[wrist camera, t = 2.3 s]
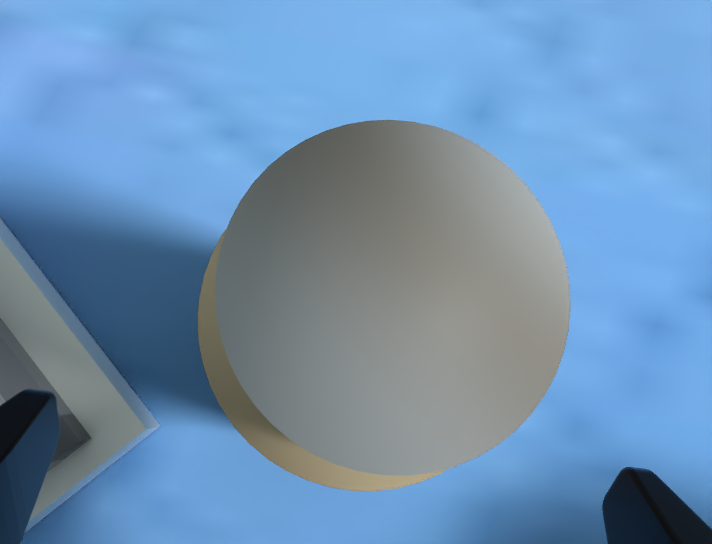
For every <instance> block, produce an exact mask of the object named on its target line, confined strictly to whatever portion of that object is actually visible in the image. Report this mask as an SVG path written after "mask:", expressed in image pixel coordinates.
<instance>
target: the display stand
mask: <svg viewBox="0 0 712 544" xmlns="http://www.w3.org/2000/svg"><path fill="white" fill-rule="evenodd" d="M25 389H35V390H43V391H50V392H52V393H54V395H55V397H56V401H57V410H58V418H59V427H60V434H59V440H58V444H57V447H56V449H55V452H54V455H53V457H52V460H51V463H50V465H49V468H48V471H47V474H46V476H45V479H44V482H43V484H42V487H41V490H40V492H39V495H38V498H37V501H36V503H35V506H34V509H33V511H32V514H31V517H30V519H29V522H28V525H27V527H26V530H25V532H24V533H26V532H27V531H28V530H29V529H31V528H32V527H33V526H34V525H36V524H37V523H38V522H39V521H41V520H42V519H43V518H44V517H46V516H47V515H48V514H50V513H51V512H52V511H53V510H55V509H56V508H57V507H58V506H60V505H61V504H62V503H63V502H65V501H66V500H67V499H68V498H70V497H71V496H72V495H74V494H75V493H76V492H77V491H79V490H80V489H81V488H82V487H84V486H85V485H86V484H87V483H89V482H90V481H91V480H92V479H94V478H95V477H96V476H98V475H99V474H100V473H101V472H103V471H104V470H105V469H106V468H108V467H109V466H110V465H111V464H113V463H114V462H115V461H117V460H118V459H119V458H120V457H122V456H123V455H124V454H125V453H127V452H128V451H129V450H130V449H132V448H133V447H134V446H135V445H137V444H138V443H139V442H141V441H142V440H143V439H144V438H146V437H147V436H148V435H149V434H151V433H152V432H153V431H154V430H156V429H157V428H158V427H159V426H160V425H159V423H158V422H157V421H156V419H155V418H154V417H153V416H152V414H151V413H150V412H149V410H148V409H147V408H146V406H145V405H144V404H143V403H142V401H141V400H140V399H139V397H138V396H137V395H136V393H135V392H134V391H133V390H132V388H131V387H130V386H129V384H128V383H127V382H126V380H125V379H124V378H123V377H122V375H121V374H120V373H119V371H118V370H117V369H116V367H115V366H114V365H113V364H112V362H111V361H110V360H109V358H108V357H107V356H106V354H105V353H104V352H103V351H102V349H101V348H100V347H99V345H98V344H97V343H96V341H95V340H94V339H93V338H92V336H91V335H90V334H89V332H88V331H87V330H86V328H85V327H84V326H83V325H82V323H81V322H80V321H79V319H78V318H77V317H76V315H75V314H74V313H73V312H72V310H71V309H70V308H69V306H68V305H67V304H66V302H65V301H64V300H63V299H62V297H61V296H60V295H59V293H58V292H57V291H56V289H55V288H54V287H53V286H52V284H51V283H50V282H49V280H48V279H47V278H46V276H45V275H44V274H43V273H42V271H41V270H40V269H39V267H38V266H37V265H36V264H35V262H34V261H33V260H32V258H31V257H30V256H29V254H28V253H27V252H26V251H25V249H24V248H23V247H22V245H21V244H20V243H19V241H18V240H17V239H16V238H15V236H14V235H13V234H12V232H11V231H10V230H9V228H8V227H7V226H6V225H5V223H4V222H3V221H2V219H1V218H0V405H2V404H3V403H4V402H6V401H7V400H9V399H10V398H12V397H13V396H15V395H16V394H18V393H19V392H21V391H23V390H25Z"/></svg>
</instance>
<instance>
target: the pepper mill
mask: <svg viewBox="0 0 712 544" xmlns="http://www.w3.org/2000/svg"><path fill="white" fill-rule="evenodd" d="M569 319H570V285H569V279H568V273H567V267H566V262H565V259H564V255H563V252H562V249H561V245H560V242H559V240H558V237H557V235H556V233H555V231H554V228H553V226H552V224H551V221H550V220H549V218H548V216H547V215H546V213H545V211H544V209H543V208H542V206H541V204H540V203H539V201H538V200H537V199H536V197H535V196H534V195H533V193H532V192H531V191H530V189H529V188H528V187H527V185H526V184H525V183H524V182H523V181H522V180H521V179H520V178H519V177H518V176H517V175H516V174H515V173H514V172H513V171H512V170H511V169H510V168H509V167H508V166H507V165H505V164H504V163H503V162H502V161H500V160H499V159H498V158H497V157H496V156H494V155H493V154H492V153H490V152H488V151H487V150H485V149H484V148H482V147H480V146H479V145H477V144H476V143H474V142H472V141H470V140H468V139H466V138H464V137H461V136H459V135H457V134H455V133H452V132H449V131H446V130H443V129H441V128H438V127H435V126H430V125H425V124H421V123H416V122H409V121H397V120H377V121H365V122H359V123H353V124H347V125H343V126H340V127H337V128H334V129H330V130H327V131H324V132H322V133H320V134H318V135H315V136H313V137H311V138H309V139H307V140H305V141H303V142H301V143H300V144H298V145H296V146H295V147H293V148H292V149H290V150H288V151H287V152H285V153H284V154H283V155H282V156H281V157H279V158H278V159H277V160H276V161H274V162H273V163H272V164H271V165H270V166H269V167H268V168H267V169H266V170H265V171H264V172H263V173H262V174H261V175H260V176H259V177H258V178H257V179H256V180H255V181H254V183H253V184H252V185H251V187H250V188H249V190H248V191H247V192H246V194H245V195H244V197H243V198H242V199H241V201H240V203H239V205H238V207H237V208H236V210H235V212H234V214H233V216H232V218H231V220H230V222H229V225H228V227H227V229H226V230H225V232H224V233H223V234H222V236H221V238H220V240H219V242H218V244H217V245H216V247H215V249H214V251H213V253H212V255H211V258H210V261H209V263H208V266H207V269H206V272H205V274H204V278H203V283H202V287H201V292H200V296H199V307H198V338H199V346H200V351H201V356H202V362H203V366H204V369H205V372H206V375H207V378H208V381H209V384H210V386H211V389H212V391H213V393H214V395H215V397H216V399H217V401H218V403H219V405H220V407H221V408H222V410H223V411H224V413H225V414H226V416H227V417H228V419H229V420H230V422H231V423H232V424H233V426H234V427H235V428H236V429H237V430H238V432H239V433H240V434H241V435H242V436H243V437H244V438H245V439H246V440H247V442H248V443H249V444H250V445H252V446H253V447H254V448H255V449H256V450H258V451H259V452H260V453H261V454H262V455H263V456H265V457H266V458H267V459H269V460H270V461H272V462H273V463H275V464H276V465H278V466H280V467H281V468H283V469H284V470H286V471H288V472H290V473H292V474H294V475H297V476H299V477H301V478H303V479H305V480H308V481H311V482H314V483H317V484H321V485H324V486H328V487H332V488H338V489H345V490H351V491H380V490H387V489H395V488H401V487H404V486H408V485H412V484H415V483H419V482H422V481H424V480H426V479H429V478H431V477H433V476H436V475H438V474H440V473H442V472H444V471H445V470H447V469H449V468H452V467H455V466H458V465H460V464H463V463H465V462H467V461H470V460H472V459H474V458H477V457H479V456H480V455H482V454H484V453H485V452H487V451H489V450H490V449H492V448H494V447H495V446H497V445H498V444H500V443H501V442H502V441H503V440H505V439H506V438H507V437H508V436H510V435H511V434H512V433H513V432H514V431H516V430H517V429H518V428H519V427H520V425H521V424H522V423H523V422H524V421H525V420H526V419H527V418H528V417H529V416H530V415H531V414H532V413H533V411H534V410H535V408H536V407H537V405H538V404H539V403H540V401H541V400H542V398H543V397H544V395H545V394H546V392H547V390H548V388H549V386H550V384H551V382H552V381H553V379H554V377H555V375H556V372H557V370H558V367H559V364H560V361H561V358H562V356H563V353H564V349H565V344H566V340H567V335H568V330H569Z"/></svg>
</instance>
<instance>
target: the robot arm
mask: <svg viewBox="0 0 712 544" xmlns="http://www.w3.org/2000/svg"><path fill="white" fill-rule="evenodd" d="M59 434H60V427H59V418H58V410H57V401H56V397H55V395H54V393H52V392H50V391H43V390H35V389H25V390H23V391H21V392H19V393H18V394H16V395H15V396H13V397H12V398H10V399H9V400H7V401H6V402H4V403H3V404H2V405H0V544H20V542H21V540H22V537H23V535H24V532H25V530H26V527H27V525H28V522H29V519H30V517H31V514H32V511H33V509H34V506H35V503H36V501H37V498H38V495H39V492H40V490H41V487H42V484H43V482H44V479H45V476H46V474H47V471H48V468H49V465H50V463H51V460H52V457H53V455H54V452H55V449H56V447H57V444H58V440H59ZM602 511H603V518H604V524H605V530H606V536H607V542H608V544H712V529H711V528H710V527H709V526H708V525H707V524H706V523H705V522H704V521H703V520H702V519H701V518H700V517H699V516H698V515H697V514H696V513H695V512H694V511H692V510H691V509H690V508H689V507H688V506H687V505H686V504H685V503H684V502H683V501H682V500H681V499H680V498H679V497H678V496H677V495H676V494H675V493H674V492H673V491H672V490H671V489H670V488H669V487H668V486H667V485H666V484H665V483H664V482H663V481H662V480H661V479H660V478H659V477H658V476H657V475H656V474H654V473H653V472H652V471H650V470H647V469H641V468H634V467H626V468H624V469H622V470H621V471H620V473H619V474H618V476H617V478H616V479H615V481H614V482H613V484H612V486H611V487H610V489H609V490H608V492H607V493H606V495H605V497H604V500H603V506H602Z"/></svg>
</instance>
